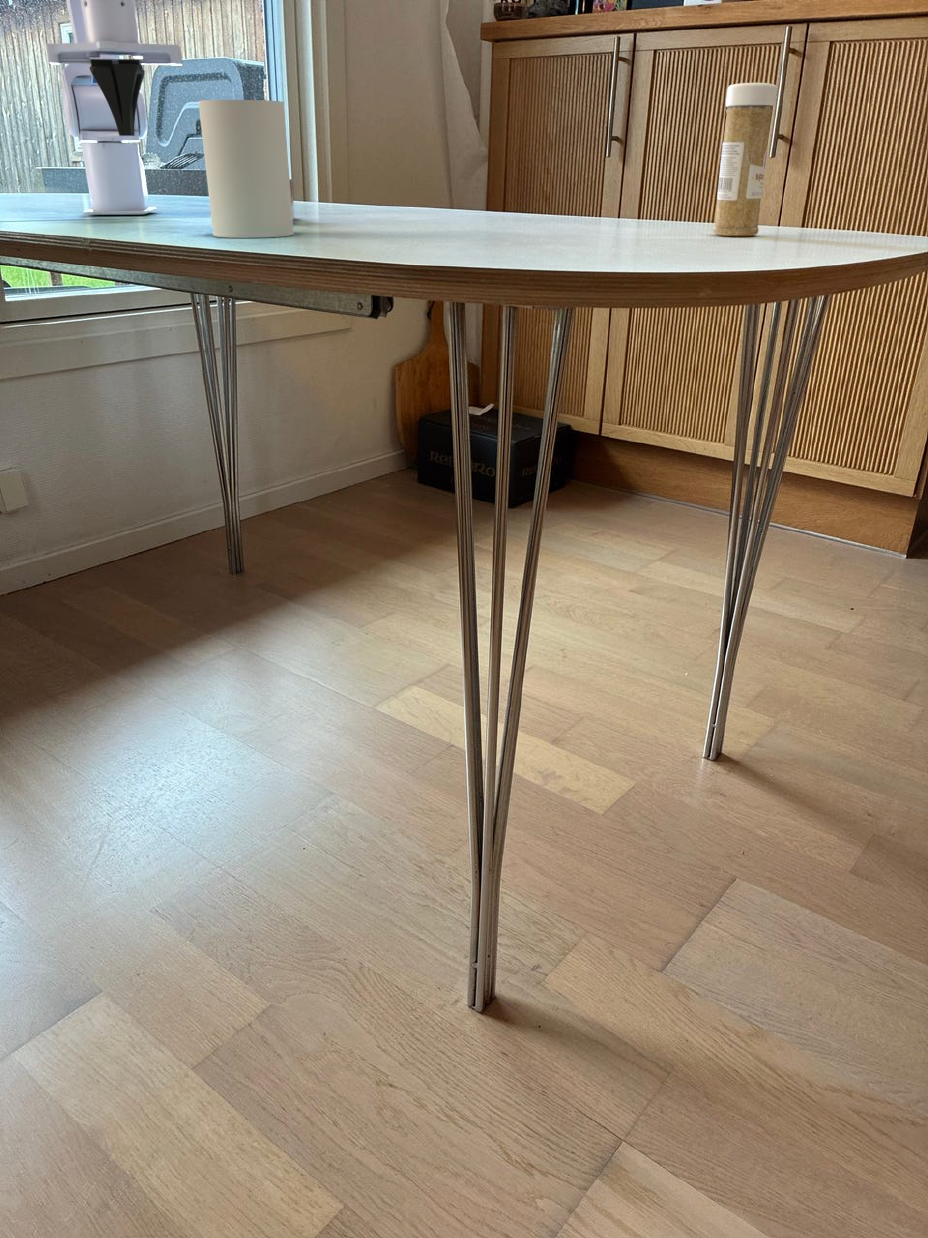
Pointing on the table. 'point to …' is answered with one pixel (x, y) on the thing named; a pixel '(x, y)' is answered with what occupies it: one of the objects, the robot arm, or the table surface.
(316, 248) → the table surface
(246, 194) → the cup
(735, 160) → the spice jar
